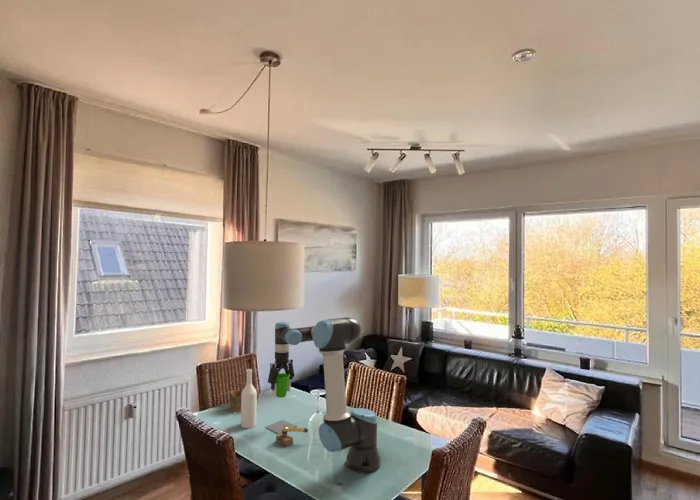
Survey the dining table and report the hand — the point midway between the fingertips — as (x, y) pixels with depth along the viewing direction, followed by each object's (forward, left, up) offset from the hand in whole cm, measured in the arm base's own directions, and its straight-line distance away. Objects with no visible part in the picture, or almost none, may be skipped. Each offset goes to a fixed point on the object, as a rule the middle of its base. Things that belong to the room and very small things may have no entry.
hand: (281, 393), depth 209 cm
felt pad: (0, 0, -18) cm, 18 cm away
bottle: (+15, +10, -18) cm, 26 cm away
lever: (-18, +6, -13) cm, 23 cm away
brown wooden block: (-15, +10, -18) cm, 26 cm away
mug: (+36, -1, -18) cm, 40 cm away
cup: (0, 0, -2) cm, 2 cm away
